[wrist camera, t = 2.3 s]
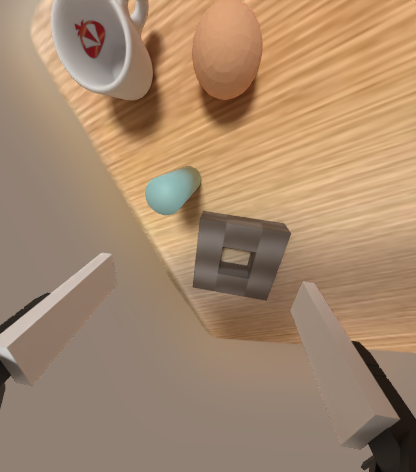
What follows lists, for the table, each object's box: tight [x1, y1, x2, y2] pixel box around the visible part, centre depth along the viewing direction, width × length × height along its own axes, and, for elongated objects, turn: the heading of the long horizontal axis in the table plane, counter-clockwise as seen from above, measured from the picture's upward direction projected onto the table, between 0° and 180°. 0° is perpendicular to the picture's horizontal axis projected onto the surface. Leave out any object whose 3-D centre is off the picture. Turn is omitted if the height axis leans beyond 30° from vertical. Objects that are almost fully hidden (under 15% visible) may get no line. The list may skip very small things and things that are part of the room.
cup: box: [51, 0, 153, 100], centre depth 20 cm, size 11×8×8 cm
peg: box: [145, 166, 201, 215], centre depth 24 cm, size 4×4×12 cm
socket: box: [193, 211, 291, 300], centre depth 32 cm, size 14×14×4 cm
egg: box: [192, 0, 262, 100], centre depth 19 cm, size 7×7×8 cm
